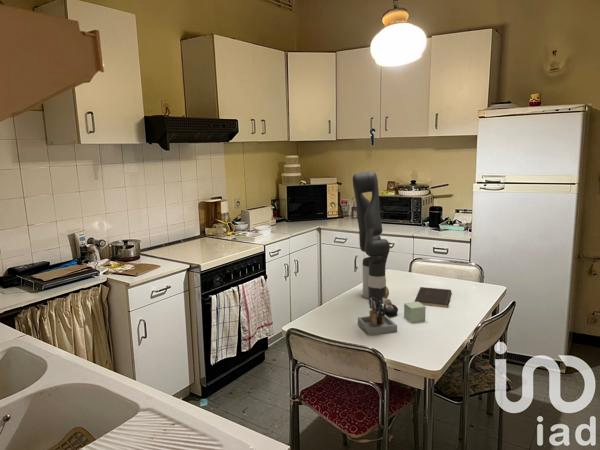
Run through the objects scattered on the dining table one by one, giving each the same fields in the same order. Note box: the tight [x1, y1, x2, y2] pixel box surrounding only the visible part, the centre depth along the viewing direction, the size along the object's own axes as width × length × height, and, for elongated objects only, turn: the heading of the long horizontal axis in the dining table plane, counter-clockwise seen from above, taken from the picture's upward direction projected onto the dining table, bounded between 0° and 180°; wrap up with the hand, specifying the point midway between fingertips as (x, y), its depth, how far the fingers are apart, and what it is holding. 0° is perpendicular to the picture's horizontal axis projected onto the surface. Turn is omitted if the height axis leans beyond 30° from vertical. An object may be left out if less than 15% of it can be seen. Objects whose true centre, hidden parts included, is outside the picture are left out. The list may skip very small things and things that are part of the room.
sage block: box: [403, 301, 426, 324], centre depth 208 cm, size 7×7×7 cm
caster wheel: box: [378, 297, 399, 318], centre depth 217 cm, size 7×11×10 cm
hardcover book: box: [414, 286, 452, 309], centre depth 235 cm, size 16×23×2 cm
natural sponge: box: [383, 286, 390, 299], centre depth 230 cm, size 9×9×10 cm
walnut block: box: [368, 309, 385, 325], centre depth 200 cm, size 5×5×5 cm
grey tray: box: [357, 315, 398, 336], centre depth 201 cm, size 13×13×3 cm
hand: (377, 321), depth 200 cm, fingers closed on walnut block, 4 cm apart
